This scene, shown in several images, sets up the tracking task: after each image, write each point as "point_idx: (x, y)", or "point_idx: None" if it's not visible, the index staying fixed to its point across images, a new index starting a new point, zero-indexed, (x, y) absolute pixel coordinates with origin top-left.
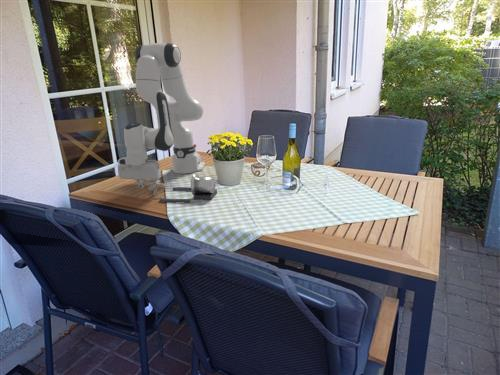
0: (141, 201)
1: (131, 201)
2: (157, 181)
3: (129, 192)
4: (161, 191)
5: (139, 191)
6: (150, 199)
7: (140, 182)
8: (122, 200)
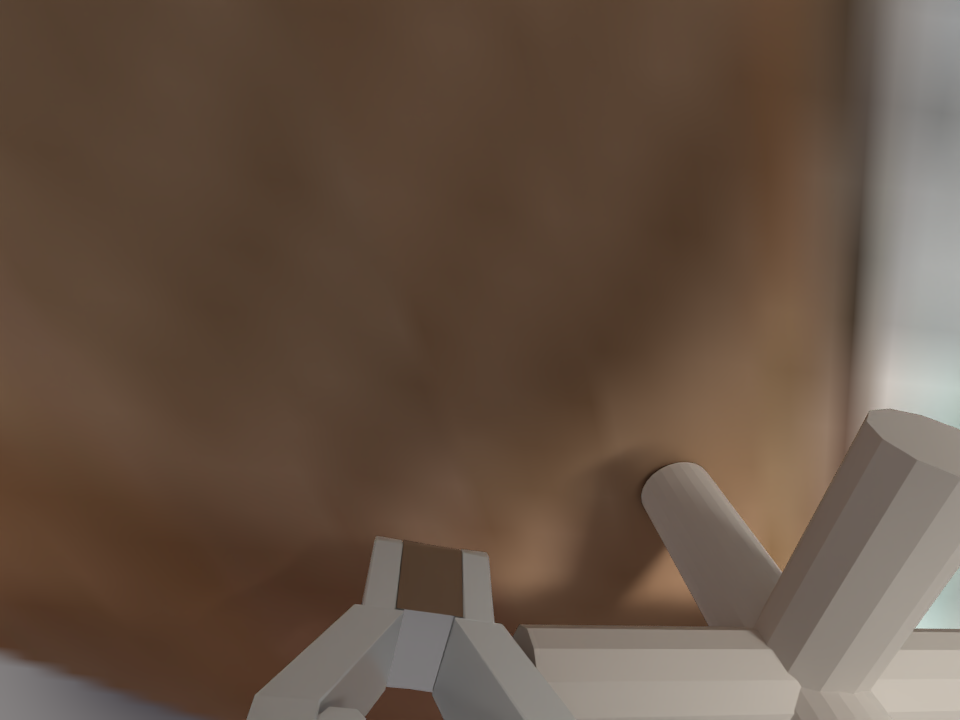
0: None
1: None
2: (925, 606)
3: (51, 291)
4: (786, 312)
5: (270, 251)
6: None
7: (375, 644)
8: (175, 645)
